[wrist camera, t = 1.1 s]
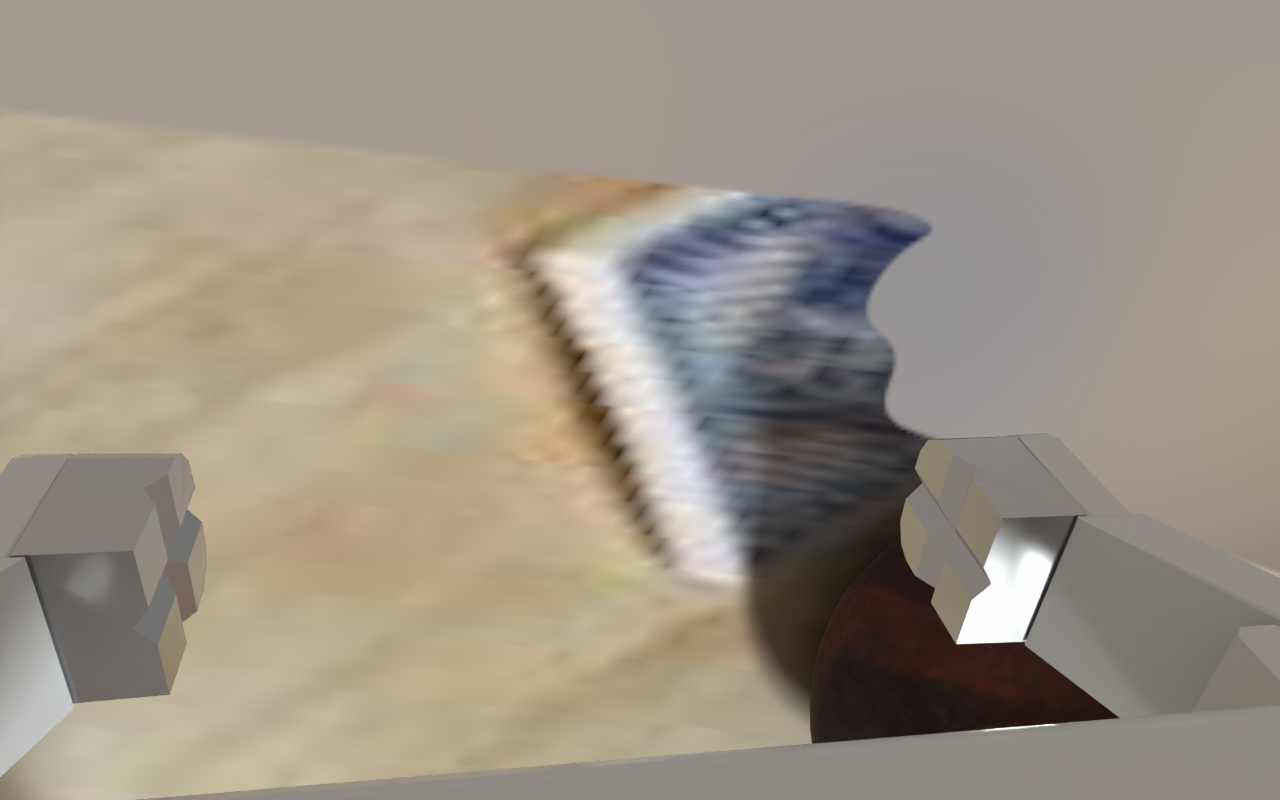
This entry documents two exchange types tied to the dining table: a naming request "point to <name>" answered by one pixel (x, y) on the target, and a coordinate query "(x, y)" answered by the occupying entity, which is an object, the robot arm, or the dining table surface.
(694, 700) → the dining table surface
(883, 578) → the jug
